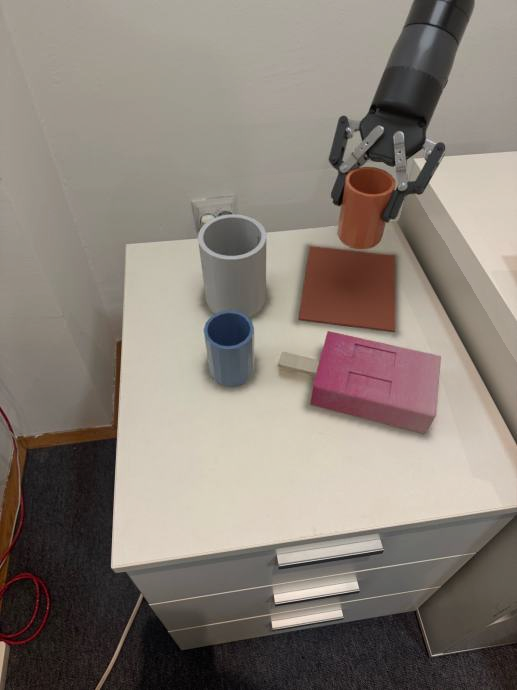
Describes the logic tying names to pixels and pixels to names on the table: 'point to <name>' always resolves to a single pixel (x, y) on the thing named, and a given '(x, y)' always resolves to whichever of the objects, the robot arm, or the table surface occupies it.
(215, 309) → the cup
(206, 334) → the blue tumbler
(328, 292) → the clay mat
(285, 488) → the table surface
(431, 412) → the popsicle
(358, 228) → the terracotta tumbler
